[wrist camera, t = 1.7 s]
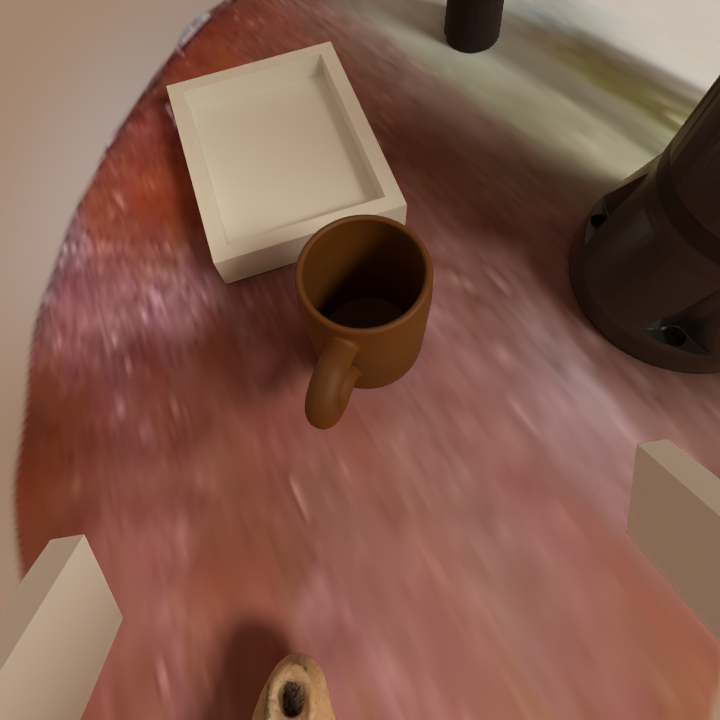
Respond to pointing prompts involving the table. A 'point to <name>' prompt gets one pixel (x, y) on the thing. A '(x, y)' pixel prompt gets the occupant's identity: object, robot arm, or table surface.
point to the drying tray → (279, 157)
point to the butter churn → (473, 24)
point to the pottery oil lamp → (295, 692)
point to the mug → (361, 308)
